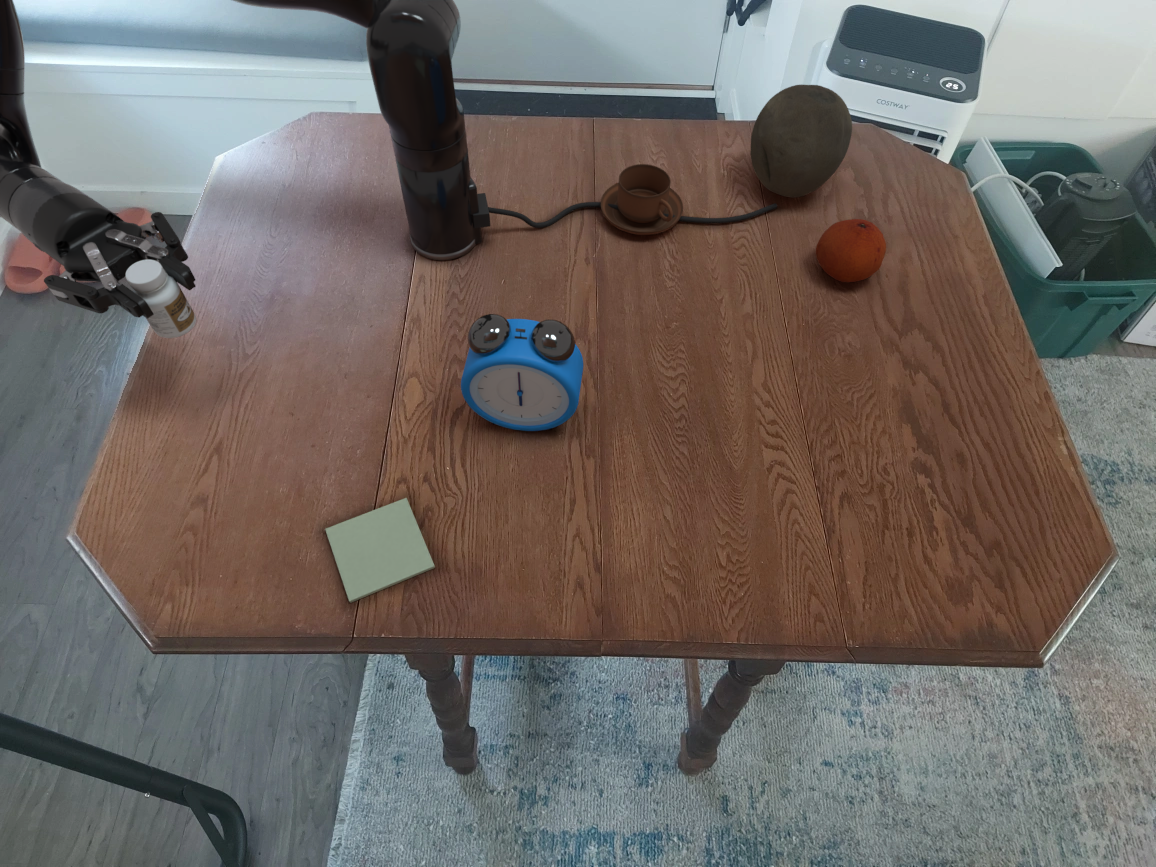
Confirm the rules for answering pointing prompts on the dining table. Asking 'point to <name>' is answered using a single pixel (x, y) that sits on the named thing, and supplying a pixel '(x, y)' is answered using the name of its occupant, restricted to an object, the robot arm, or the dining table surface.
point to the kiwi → (800, 139)
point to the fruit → (851, 250)
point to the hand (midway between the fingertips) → (168, 295)
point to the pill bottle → (161, 299)
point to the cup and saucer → (642, 201)
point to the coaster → (379, 549)
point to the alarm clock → (522, 372)
